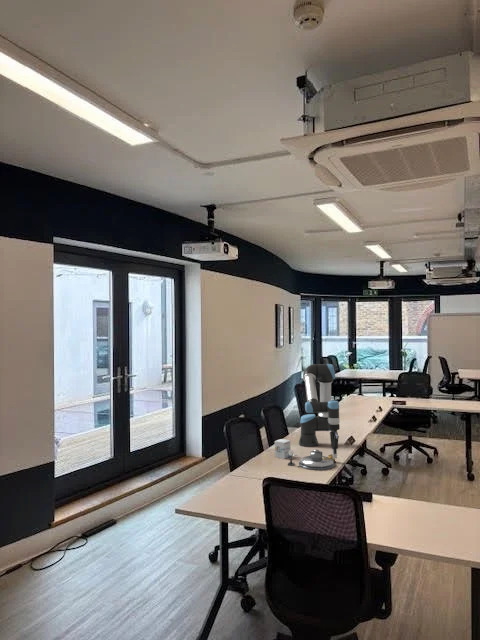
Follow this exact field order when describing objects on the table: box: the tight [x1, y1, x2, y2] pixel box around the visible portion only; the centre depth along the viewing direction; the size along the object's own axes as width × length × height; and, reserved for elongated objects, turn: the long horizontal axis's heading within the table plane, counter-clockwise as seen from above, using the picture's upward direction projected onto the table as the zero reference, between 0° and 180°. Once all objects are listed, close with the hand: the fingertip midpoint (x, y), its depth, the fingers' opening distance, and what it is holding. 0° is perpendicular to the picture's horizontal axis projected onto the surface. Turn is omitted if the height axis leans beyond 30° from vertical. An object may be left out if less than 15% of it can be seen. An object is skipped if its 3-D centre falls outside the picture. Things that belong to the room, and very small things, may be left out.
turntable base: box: [298, 461, 336, 471], centre depth 319 cm, size 24×24×1 cm
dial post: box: [287, 450, 298, 467], centre depth 320 cm, size 4×6×10 cm, turn 75°
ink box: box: [274, 438, 292, 460], centre depth 341 cm, size 8×8×12 cm
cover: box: [309, 449, 323, 462], centre depth 319 cm, size 8×8×6 cm
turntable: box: [299, 454, 336, 468], centre depth 320 cm, size 22×26×3 cm
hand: (334, 458), depth 323 cm, fingers closed
